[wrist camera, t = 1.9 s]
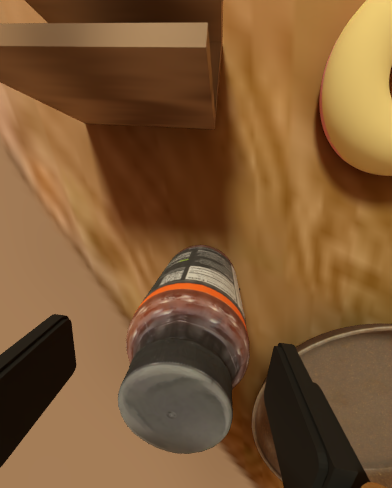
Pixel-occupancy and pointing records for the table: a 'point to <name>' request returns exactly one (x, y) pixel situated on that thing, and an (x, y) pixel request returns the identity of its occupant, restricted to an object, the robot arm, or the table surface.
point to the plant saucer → (347, 394)
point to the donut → (361, 90)
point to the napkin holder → (119, 60)
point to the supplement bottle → (186, 354)
